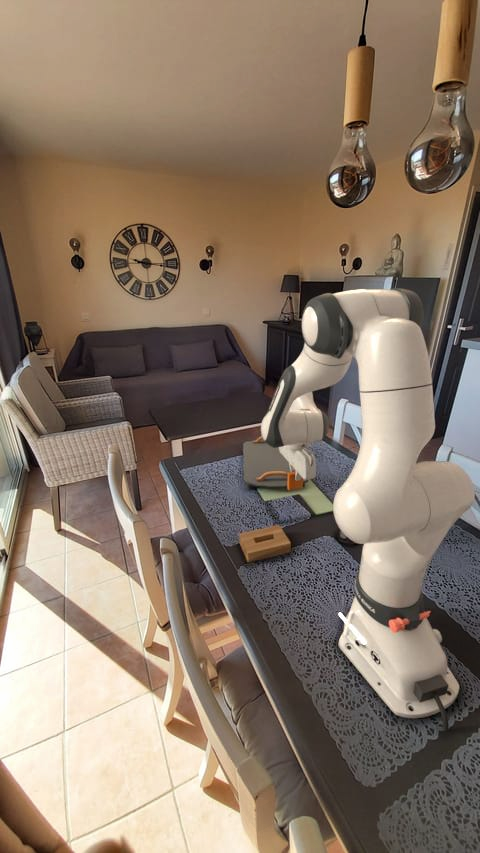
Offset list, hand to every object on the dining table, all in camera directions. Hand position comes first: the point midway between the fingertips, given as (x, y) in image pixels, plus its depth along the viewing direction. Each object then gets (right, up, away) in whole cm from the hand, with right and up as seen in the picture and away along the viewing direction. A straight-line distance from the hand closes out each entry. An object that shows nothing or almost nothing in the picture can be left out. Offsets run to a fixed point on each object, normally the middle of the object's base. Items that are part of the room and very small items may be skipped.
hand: (295, 477), depth 117 cm
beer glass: (+12, -15, -15) cm, 25 cm away
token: (0, -4, +2) cm, 4 cm away
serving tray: (-5, +1, +24) cm, 24 cm away
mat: (0, -8, +3) cm, 8 cm away
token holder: (-11, -17, -18) cm, 28 cm away
